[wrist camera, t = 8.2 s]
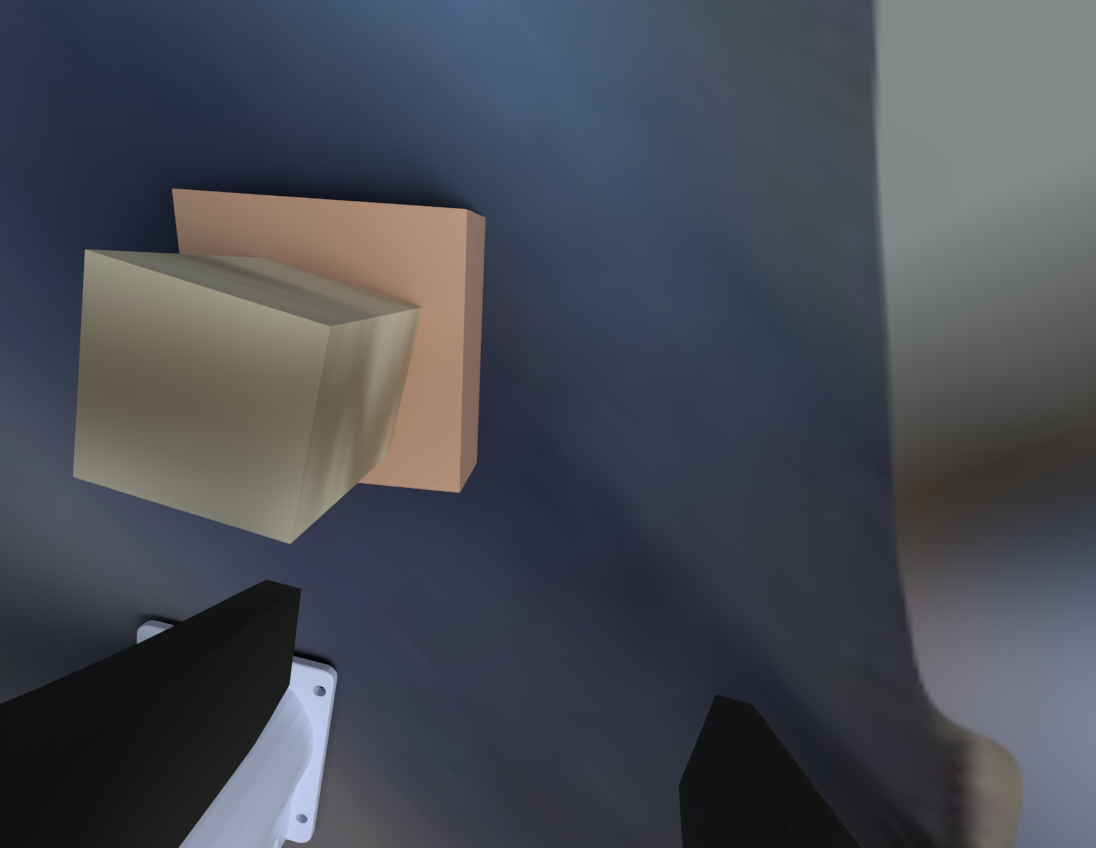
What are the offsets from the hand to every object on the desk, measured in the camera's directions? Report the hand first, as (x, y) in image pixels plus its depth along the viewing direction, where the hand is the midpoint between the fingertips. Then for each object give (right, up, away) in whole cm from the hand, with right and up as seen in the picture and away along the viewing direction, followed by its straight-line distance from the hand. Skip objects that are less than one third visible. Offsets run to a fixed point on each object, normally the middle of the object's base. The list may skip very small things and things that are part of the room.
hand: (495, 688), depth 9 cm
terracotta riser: (-5, +7, +9) cm, 13 cm away
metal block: (-5, +6, +6) cm, 10 cm away
